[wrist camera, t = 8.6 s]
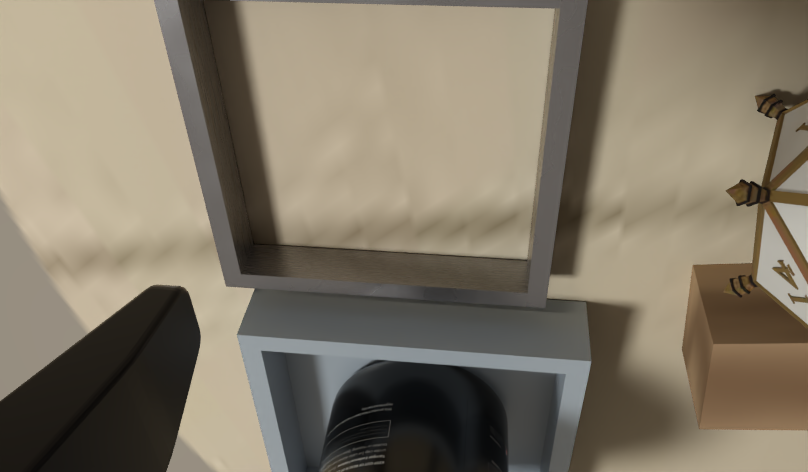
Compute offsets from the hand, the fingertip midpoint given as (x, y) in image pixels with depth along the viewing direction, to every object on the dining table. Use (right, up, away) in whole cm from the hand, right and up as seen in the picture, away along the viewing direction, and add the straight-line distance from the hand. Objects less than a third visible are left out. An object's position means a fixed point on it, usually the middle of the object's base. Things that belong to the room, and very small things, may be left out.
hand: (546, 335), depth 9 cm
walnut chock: (+11, -1, +15) cm, 19 cm away
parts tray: (-1, -5, +20) cm, 21 cm away
